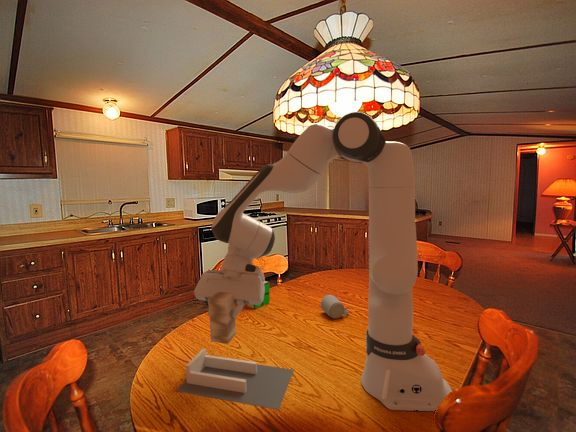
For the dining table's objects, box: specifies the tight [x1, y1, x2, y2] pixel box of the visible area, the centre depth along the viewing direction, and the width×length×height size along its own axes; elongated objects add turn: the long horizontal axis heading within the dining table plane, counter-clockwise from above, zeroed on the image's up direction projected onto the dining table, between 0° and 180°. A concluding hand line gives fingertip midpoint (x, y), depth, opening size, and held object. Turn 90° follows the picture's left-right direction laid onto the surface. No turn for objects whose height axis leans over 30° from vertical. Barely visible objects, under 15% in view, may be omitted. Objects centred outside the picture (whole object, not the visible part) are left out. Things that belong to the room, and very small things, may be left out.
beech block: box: [208, 292, 237, 345], centre depth 82 cm, size 5×5×12 cm
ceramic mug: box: [320, 294, 350, 320], centre depth 124 cm, size 11×8×8 cm
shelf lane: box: [175, 347, 295, 410], centre depth 83 cm, size 28×16×6 cm, turn 76°
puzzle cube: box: [244, 280, 271, 310], centre depth 137 cm, size 10×10×10 cm
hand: (221, 316), depth 81 cm, fingers closed on beech block, 5 cm apart
